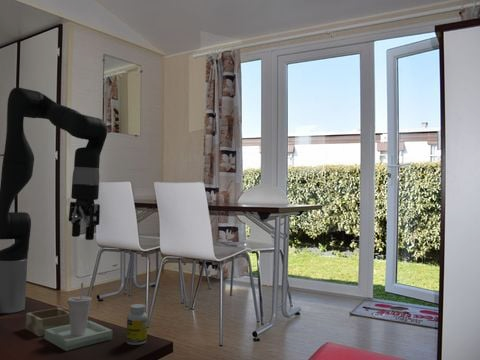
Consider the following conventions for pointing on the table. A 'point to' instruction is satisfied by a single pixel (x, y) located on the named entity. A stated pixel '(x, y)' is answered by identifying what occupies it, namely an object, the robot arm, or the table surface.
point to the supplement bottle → (137, 325)
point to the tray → (68, 342)
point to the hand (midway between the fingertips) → (82, 238)
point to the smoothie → (79, 313)
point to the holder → (46, 320)
